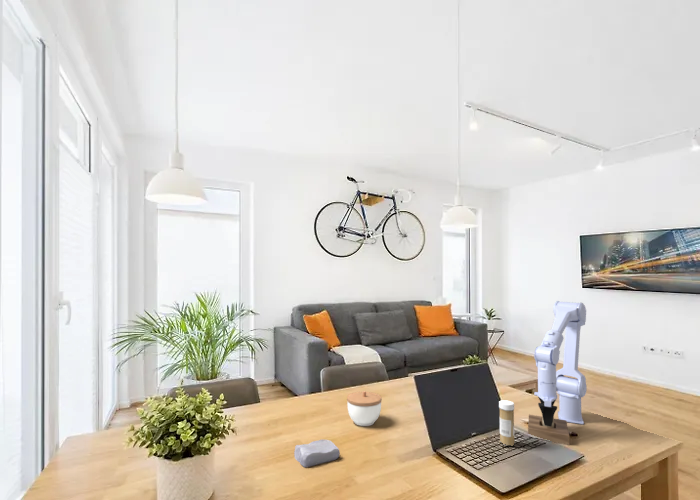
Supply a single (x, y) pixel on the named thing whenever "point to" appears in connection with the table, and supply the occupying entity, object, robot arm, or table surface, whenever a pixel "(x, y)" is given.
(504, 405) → the sprinkles bottle
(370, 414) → the lidded bowl
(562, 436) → the socket block
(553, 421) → the dowel
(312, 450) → the stone block
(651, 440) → the table surface
